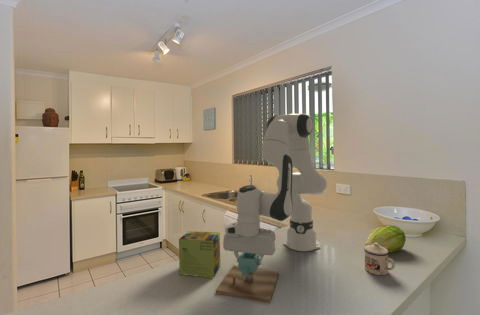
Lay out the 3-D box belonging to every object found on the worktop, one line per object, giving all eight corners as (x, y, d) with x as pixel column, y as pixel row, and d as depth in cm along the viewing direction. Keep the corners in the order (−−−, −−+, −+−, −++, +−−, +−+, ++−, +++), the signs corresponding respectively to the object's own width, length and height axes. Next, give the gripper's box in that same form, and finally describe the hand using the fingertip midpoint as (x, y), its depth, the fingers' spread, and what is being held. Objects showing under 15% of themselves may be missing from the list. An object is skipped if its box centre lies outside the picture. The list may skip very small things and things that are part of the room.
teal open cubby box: (243, 262, 101) (243, 251, 101) (259, 264, 99) (259, 253, 99) (235, 275, 92) (235, 262, 91) (252, 277, 90) (252, 265, 89)
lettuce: (352, 236, 129) (370, 229, 118) (382, 226, 137) (401, 218, 126) (365, 262, 124) (385, 257, 113) (396, 250, 132) (417, 244, 121)
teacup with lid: (359, 268, 107) (359, 242, 107) (372, 263, 112) (372, 237, 112) (388, 281, 97) (388, 251, 97) (400, 275, 102) (400, 246, 101)
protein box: (214, 278, 102) (213, 240, 101) (179, 275, 105) (178, 238, 104) (221, 266, 112) (220, 232, 112) (188, 263, 115) (187, 230, 114)
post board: (233, 267, 110) (233, 251, 110) (279, 274, 104) (278, 257, 104) (215, 293, 91) (215, 274, 91) (270, 302, 85) (269, 282, 85)
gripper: (276, 227, 97) (277, 262, 97) (227, 223, 103) (227, 256, 103) (273, 232, 91) (274, 270, 91) (221, 228, 97) (222, 263, 97)
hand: (249, 263), depth 97 cm, fingers closed on teal open cubby box, 7 cm apart
